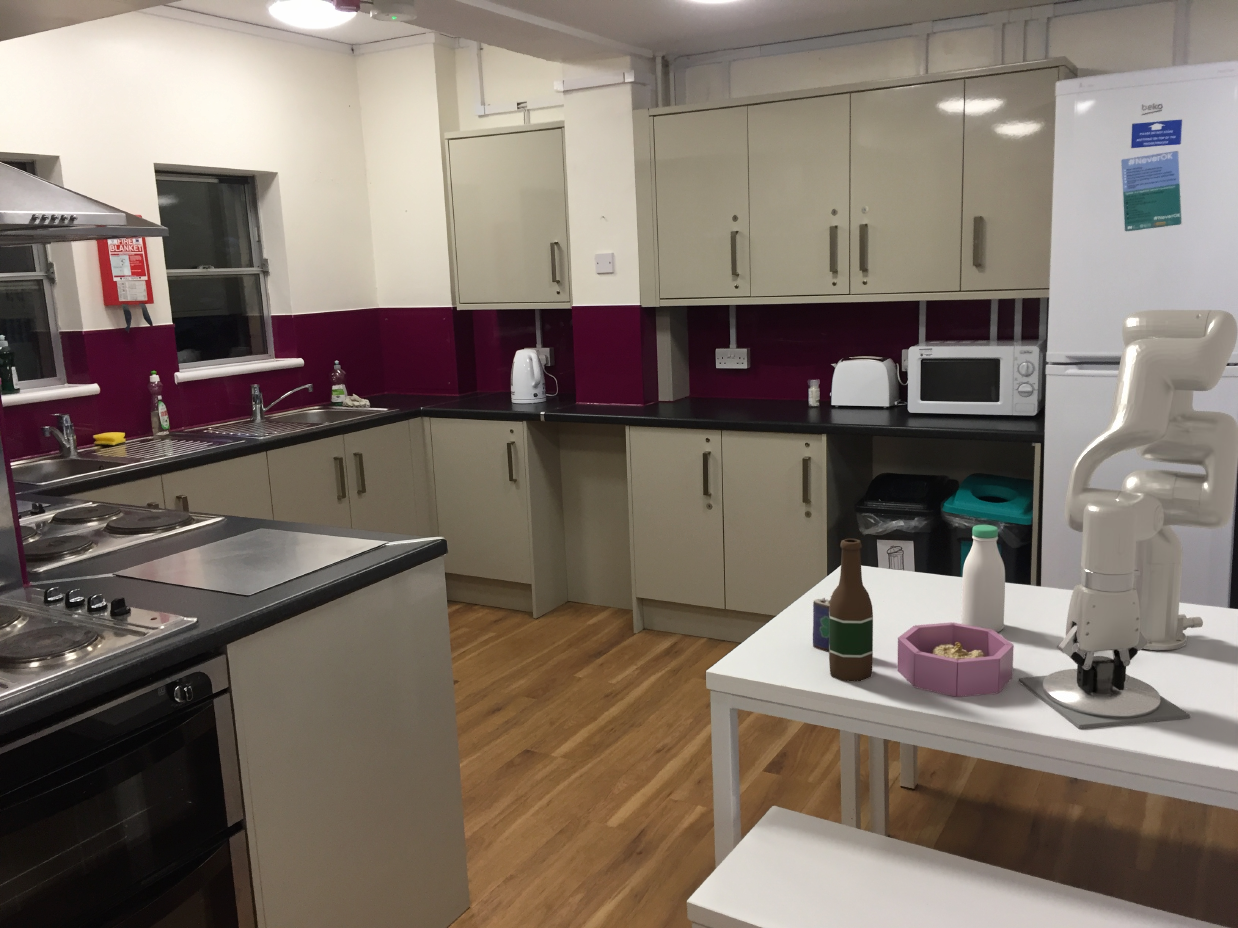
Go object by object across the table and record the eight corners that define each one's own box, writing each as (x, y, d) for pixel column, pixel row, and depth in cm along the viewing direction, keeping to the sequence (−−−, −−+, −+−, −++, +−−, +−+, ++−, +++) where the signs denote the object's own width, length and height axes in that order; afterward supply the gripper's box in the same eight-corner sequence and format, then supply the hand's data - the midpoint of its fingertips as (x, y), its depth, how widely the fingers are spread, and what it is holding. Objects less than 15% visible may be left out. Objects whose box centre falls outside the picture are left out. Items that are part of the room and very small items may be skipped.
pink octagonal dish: (978, 651, 183) (979, 620, 182) (1027, 690, 166) (1029, 655, 165) (886, 659, 181) (886, 627, 180) (926, 699, 164) (927, 664, 163)
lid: (1117, 670, 171) (1119, 636, 170) (1184, 713, 155) (1187, 676, 153) (1022, 678, 169) (1024, 644, 168) (1080, 723, 153) (1082, 685, 151)
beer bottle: (865, 685, 170) (866, 548, 166) (821, 677, 174) (821, 543, 170) (879, 669, 177) (881, 537, 172) (836, 661, 181) (837, 532, 176)
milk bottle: (1006, 635, 190) (1010, 532, 186) (963, 633, 192) (966, 532, 188) (999, 621, 198) (1003, 522, 194) (958, 619, 199) (961, 521, 195)
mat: (1118, 672, 172) (1118, 668, 172) (1189, 717, 154) (1190, 714, 154) (1018, 681, 170) (1018, 677, 170) (1078, 728, 152) (1079, 724, 152)
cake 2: (980, 689, 169) (980, 660, 168) (921, 679, 174) (920, 650, 173) (995, 664, 177) (995, 636, 176) (937, 655, 182) (937, 627, 181)
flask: (861, 652, 185) (861, 597, 182) (854, 658, 182) (854, 601, 180) (816, 642, 190) (816, 588, 188) (808, 647, 188) (808, 592, 186)
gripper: (1142, 568, 163) (1135, 674, 166) (1042, 576, 161) (1038, 683, 164) (1172, 582, 155) (1164, 693, 159) (1069, 590, 153) (1063, 702, 157)
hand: (1100, 687), depth 162 cm, fingers open, 4 cm apart
